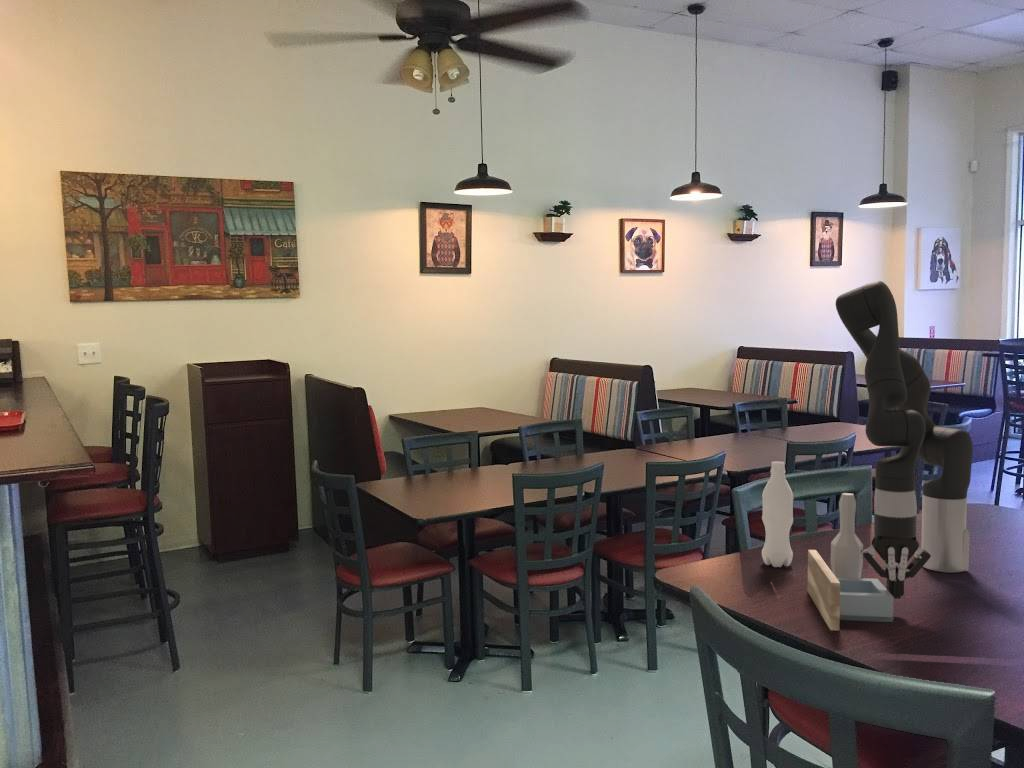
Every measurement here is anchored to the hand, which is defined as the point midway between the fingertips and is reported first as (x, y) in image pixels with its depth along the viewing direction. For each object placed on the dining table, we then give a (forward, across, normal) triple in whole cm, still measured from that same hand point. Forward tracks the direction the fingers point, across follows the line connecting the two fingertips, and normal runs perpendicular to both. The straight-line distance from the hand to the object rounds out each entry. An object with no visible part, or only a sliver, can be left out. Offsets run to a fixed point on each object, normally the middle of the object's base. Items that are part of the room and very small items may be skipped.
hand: (895, 597), depth 160 cm
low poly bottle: (+4, +6, -12) cm, 14 cm away
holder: (+3, +7, 0) cm, 8 cm away
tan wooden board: (+4, +3, 0) cm, 5 cm away
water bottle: (+4, +17, -33) cm, 38 cm away
